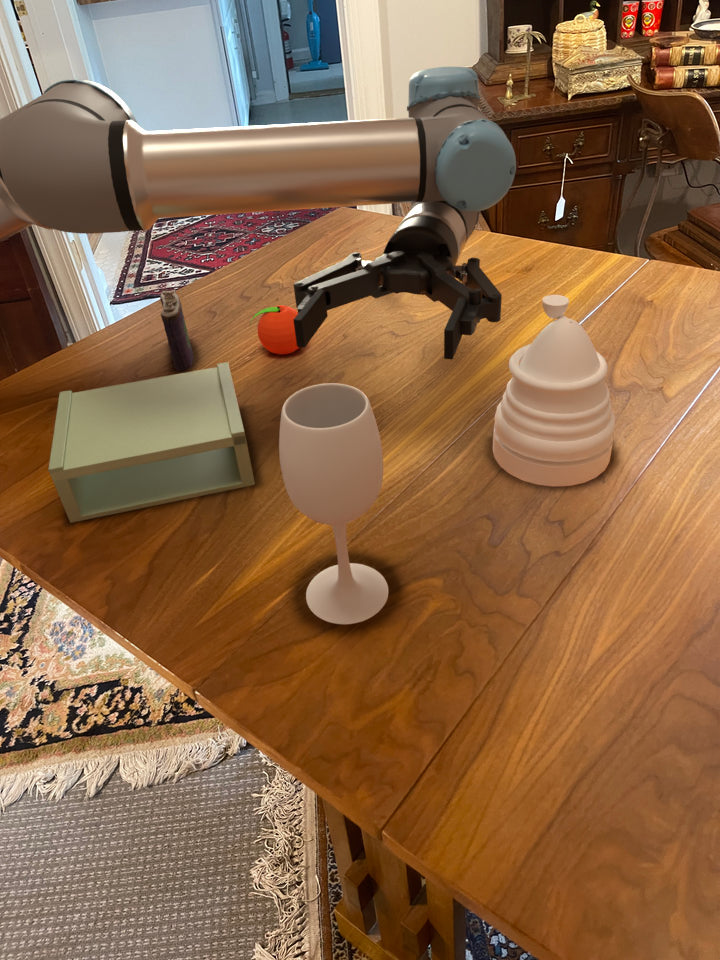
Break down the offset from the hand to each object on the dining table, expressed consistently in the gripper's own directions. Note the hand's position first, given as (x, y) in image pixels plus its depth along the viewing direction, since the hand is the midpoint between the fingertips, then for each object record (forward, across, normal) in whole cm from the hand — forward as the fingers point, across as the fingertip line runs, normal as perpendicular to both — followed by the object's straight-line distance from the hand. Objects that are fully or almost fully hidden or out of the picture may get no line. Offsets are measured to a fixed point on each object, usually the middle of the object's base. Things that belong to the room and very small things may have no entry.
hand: (371, 339), depth 64 cm
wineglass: (+12, 0, -21) cm, 24 cm away
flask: (-28, +38, -21) cm, 51 cm away
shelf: (-3, +28, -20) cm, 35 cm away
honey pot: (-14, -16, -21) cm, 30 cm away
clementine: (-32, +24, -21) cm, 45 cm away
